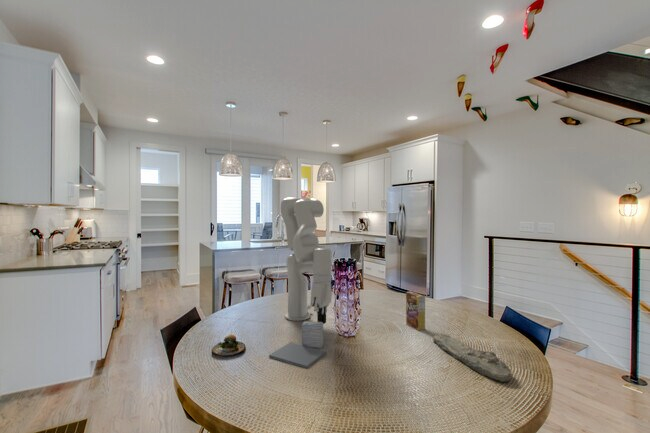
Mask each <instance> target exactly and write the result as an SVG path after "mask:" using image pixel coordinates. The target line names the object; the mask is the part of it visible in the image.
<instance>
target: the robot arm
mask: <svg viewBox="0 0 650 433" xmlns="http://www.w3.org/2000/svg"><path fill="white" fill-rule="evenodd" d="M324 210H325V209H324V204H323V203H322V201H321V200H319V199H315V198H312V197H286V198H283V199H282V200H281V202H280V215H281V218H282V220H283V223H284V226H285V233H286V243H287V247H288V250H289V251H291V252H293V253H292V254H291V253H290V254H289V255H288V256H287V257H286V269H287V282H288V283H287V312H286V313H285V314H284V319H286V320H289V321H295V322H300V321H301V322H302V321H307V320H308V319H310V318H311V314H310V312H308V311H309V310H311V308H312V307H313V312H316V314H317V315H316V316H317V321H316V322H323V325H325V324H326V323H327V313H328V312H327V311H328V307H329V306H330V304H331V303H332V297H333V296H332V283H331V282H332V250H331V248H329V247H326V246H324V245H320V241H319V238H318V236H317V234H316V233H314V232H315V231H316V230H317V227H318V225H317V221H316V219H315V218H321V217H322V216H323V214H324ZM310 272H311V273H312V284H311V291H310V304H308V280H307V277H305V275H304V274H303V273H310Z"/></svg>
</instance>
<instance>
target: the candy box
mask: <svg viewBox="0 0 650 433" xmlns="http://www.w3.org/2000/svg"><path fill="white" fill-rule="evenodd" d="M405 320H406V321H405V324H406V325H407V326H409V327H412V328H413V329H415V330H417V331H423V330H425V329H426V295H423V294H421V293H417V292H415V291H413V290H412V291H406V292H405Z"/></svg>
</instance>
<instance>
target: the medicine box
mask: <svg viewBox="0 0 650 433" xmlns="http://www.w3.org/2000/svg"><path fill="white" fill-rule="evenodd" d="M301 345H304V346H308V347H312V348H316V349H319V348H320V349H321V348H323V345H324V324H323V322H317V321H307V320H303V323H302V324H301Z"/></svg>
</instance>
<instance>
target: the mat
mask: <svg viewBox="0 0 650 433" xmlns="http://www.w3.org/2000/svg"><path fill="white" fill-rule="evenodd" d="M326 354H327V351H326V350H323V349H321V348H320V349H319V348H317V347H308V346H304V345H302V344H299V343H295V342H291V341H290V342H288V343H287V344H285V345H283V346H282V347H279V348H278V349H277V350H275V351H274V352H272V353H270V354H268V357H269V358H271V359H274V360H277V361H281V362H284V363H287V364H291V365H295V366H298V367H301V368H303V369H309V368H310V366H312V365H313V364H314V363H316V362H317V361H319V359H321V358H323V356H324V355H326Z"/></svg>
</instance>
